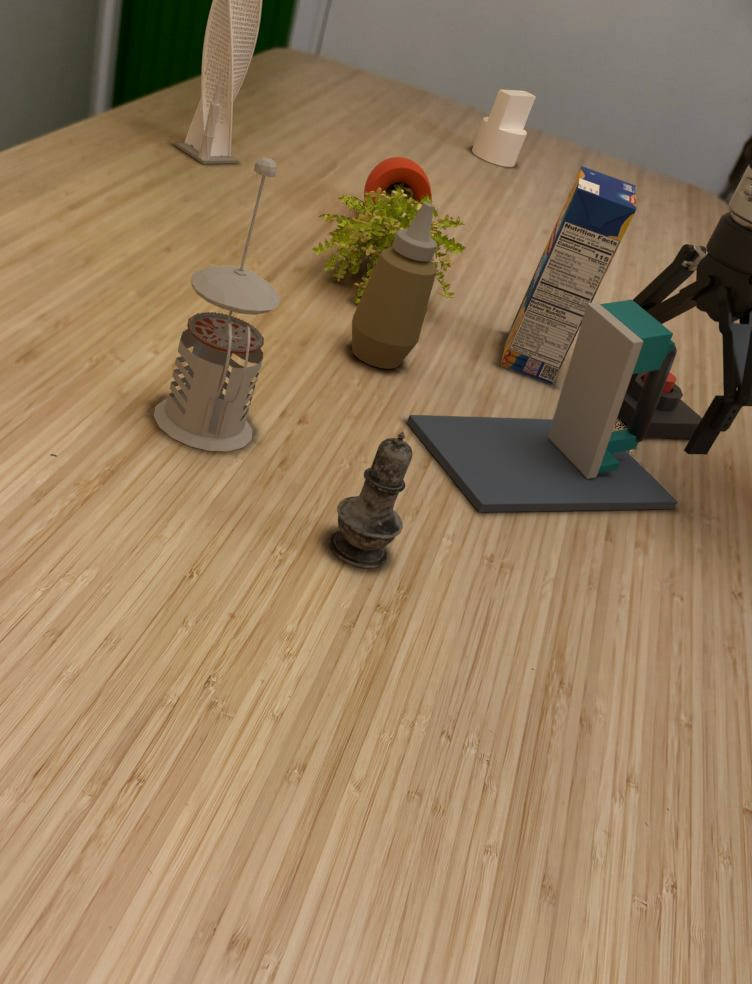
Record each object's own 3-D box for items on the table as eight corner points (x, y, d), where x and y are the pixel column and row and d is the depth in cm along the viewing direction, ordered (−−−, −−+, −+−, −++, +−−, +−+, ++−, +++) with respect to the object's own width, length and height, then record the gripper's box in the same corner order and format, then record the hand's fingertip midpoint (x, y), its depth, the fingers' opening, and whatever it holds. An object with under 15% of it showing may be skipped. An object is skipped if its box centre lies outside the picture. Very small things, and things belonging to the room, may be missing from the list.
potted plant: (305, 226, 165) (300, 299, 127) (329, 130, 158) (330, 178, 120) (421, 257, 167) (449, 338, 129) (450, 164, 159) (489, 221, 122)
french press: (245, 403, 105) (313, 150, 89) (263, 468, 97) (342, 201, 81) (149, 389, 102) (202, 125, 86) (159, 455, 94) (220, 175, 78)
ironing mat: (674, 509, 112) (678, 501, 112) (478, 512, 101) (482, 504, 100) (592, 427, 123) (595, 420, 122) (406, 422, 111) (409, 414, 111)
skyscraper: (168, 141, 161) (207, -69, 143) (208, 141, 166) (249, -61, 148) (202, 163, 157) (246, -49, 140) (241, 163, 162) (288, -42, 145)
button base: (700, 439, 128) (717, 411, 126) (639, 438, 124) (656, 408, 121) (643, 388, 136) (658, 360, 133) (584, 385, 132) (598, 356, 129)
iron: (633, 342, 98) (714, 329, 101) (587, 302, 104) (665, 291, 106) (587, 479, 110) (661, 464, 113) (547, 437, 115) (619, 423, 118)
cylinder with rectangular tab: (489, 148, 210) (513, 84, 203) (523, 166, 206) (548, 102, 199) (463, 148, 205) (486, 83, 197) (497, 167, 201) (522, 101, 193)
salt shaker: (331, 521, 93) (372, 404, 86) (393, 542, 93) (440, 427, 86) (320, 556, 89) (363, 436, 81) (385, 578, 89) (434, 461, 81)
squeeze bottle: (381, 380, 117) (437, 224, 106) (328, 347, 120) (377, 191, 109) (421, 368, 123) (478, 217, 111) (370, 335, 126) (420, 186, 114)
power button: (675, 395, 127) (682, 382, 126) (653, 394, 126) (660, 381, 125) (657, 379, 129) (664, 367, 128) (636, 378, 128) (643, 365, 127)
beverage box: (500, 366, 129) (578, 188, 115) (507, 334, 138) (581, 165, 124) (551, 385, 129) (636, 209, 115) (556, 352, 137) (635, 185, 123)
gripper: (655, 170, 106) (567, 358, 119) (827, 280, 90) (703, 484, 103) (708, 178, 109) (616, 361, 123) (883, 286, 93) (756, 483, 106)
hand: (656, 417), depth 113 cm, fingers open, 13 cm apart
